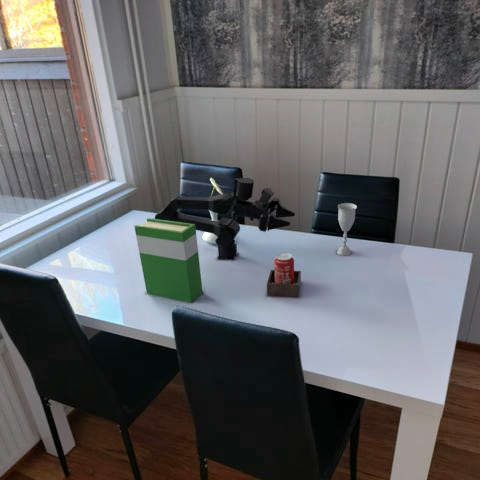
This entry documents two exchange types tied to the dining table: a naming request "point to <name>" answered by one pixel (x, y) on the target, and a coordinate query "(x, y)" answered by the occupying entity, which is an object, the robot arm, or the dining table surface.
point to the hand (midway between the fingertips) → (292, 219)
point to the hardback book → (170, 259)
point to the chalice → (346, 223)
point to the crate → (284, 286)
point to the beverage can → (284, 269)
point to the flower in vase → (210, 236)
